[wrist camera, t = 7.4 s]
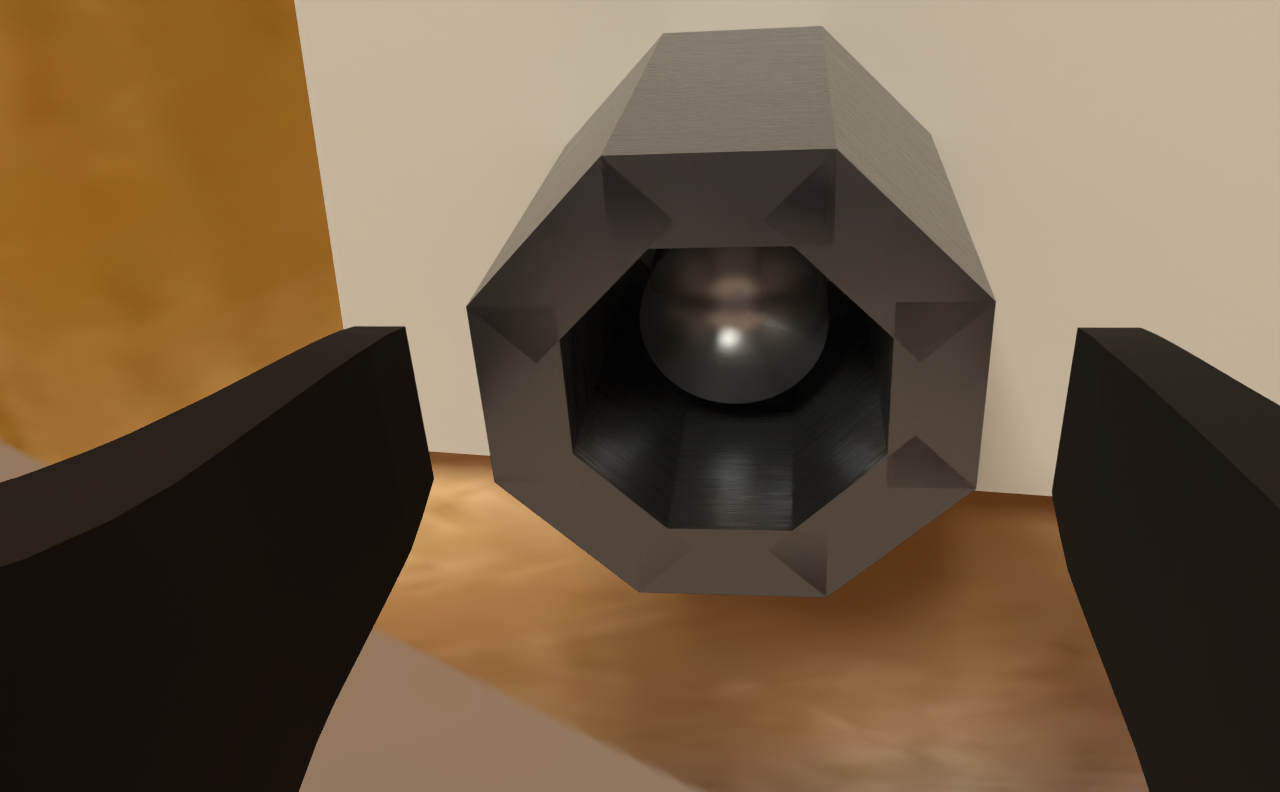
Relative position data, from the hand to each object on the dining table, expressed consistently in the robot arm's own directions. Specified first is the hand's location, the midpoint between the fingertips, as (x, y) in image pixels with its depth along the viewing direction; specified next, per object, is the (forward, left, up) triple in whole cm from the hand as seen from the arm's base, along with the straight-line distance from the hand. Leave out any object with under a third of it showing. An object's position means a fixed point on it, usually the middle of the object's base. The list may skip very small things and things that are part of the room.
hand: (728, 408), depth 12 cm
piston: (0, 0, -6) cm, 6 cm away
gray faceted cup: (0, 0, -6) cm, 6 cm away
